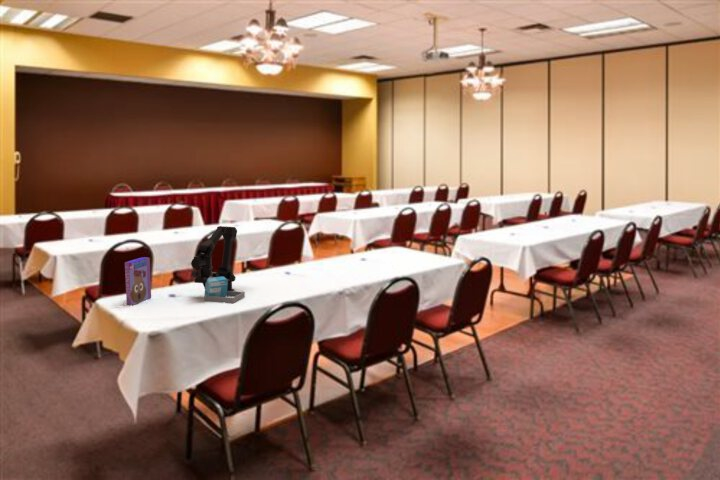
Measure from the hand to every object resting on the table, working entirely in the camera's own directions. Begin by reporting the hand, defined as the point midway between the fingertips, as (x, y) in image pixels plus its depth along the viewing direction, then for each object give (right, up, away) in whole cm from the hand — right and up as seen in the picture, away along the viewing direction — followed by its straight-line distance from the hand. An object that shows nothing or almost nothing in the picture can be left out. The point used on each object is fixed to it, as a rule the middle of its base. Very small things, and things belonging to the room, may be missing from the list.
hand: (207, 291), depth 354 cm
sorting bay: (+11, -4, -2) cm, 12 cm away
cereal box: (-36, -5, -9) cm, 38 cm away
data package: (+5, -3, -1) cm, 6 cm away
